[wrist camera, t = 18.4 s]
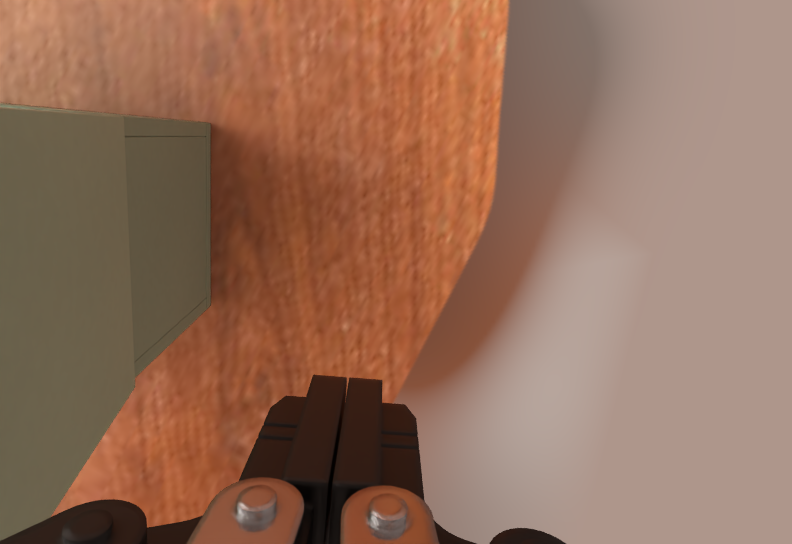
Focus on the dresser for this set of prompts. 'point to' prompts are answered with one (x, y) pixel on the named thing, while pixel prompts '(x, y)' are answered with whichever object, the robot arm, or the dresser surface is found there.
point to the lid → (60, 302)
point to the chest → (165, 227)
